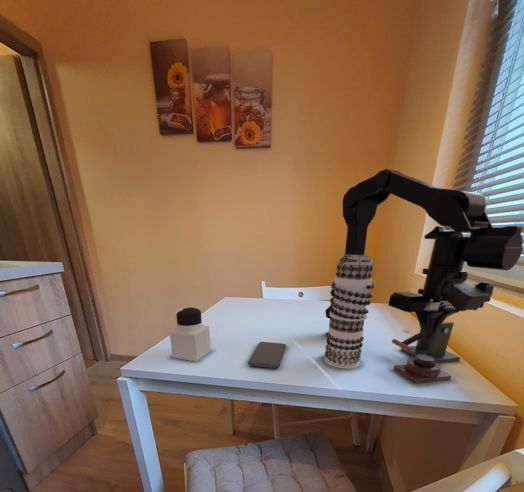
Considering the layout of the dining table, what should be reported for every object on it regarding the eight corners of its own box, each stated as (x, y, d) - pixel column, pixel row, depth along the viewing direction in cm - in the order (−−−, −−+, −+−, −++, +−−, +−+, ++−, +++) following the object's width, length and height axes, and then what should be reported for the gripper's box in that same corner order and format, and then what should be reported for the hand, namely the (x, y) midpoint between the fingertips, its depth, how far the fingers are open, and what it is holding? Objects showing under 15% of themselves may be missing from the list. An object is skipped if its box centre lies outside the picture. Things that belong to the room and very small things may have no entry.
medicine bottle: (211, 351, 74) (208, 307, 69) (196, 362, 67) (192, 314, 63) (188, 347, 76) (183, 304, 71) (172, 357, 70) (166, 311, 65)
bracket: (425, 365, 67) (435, 327, 64) (400, 351, 75) (408, 316, 72) (459, 361, 70) (471, 324, 66) (431, 348, 78) (440, 314, 74)
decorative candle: (345, 351, 74) (359, 253, 65) (369, 366, 66) (389, 256, 57) (315, 356, 71) (325, 254, 62) (336, 372, 64) (351, 257, 54)
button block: (414, 385, 59) (418, 372, 57) (393, 370, 65) (395, 358, 64) (449, 380, 61) (453, 368, 59) (425, 366, 67) (428, 355, 66)
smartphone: (286, 343, 77) (278, 365, 64) (286, 346, 78) (278, 369, 64) (259, 341, 79) (246, 362, 65) (259, 344, 79) (246, 366, 65)
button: (422, 369, 60) (424, 361, 59) (410, 362, 63) (412, 355, 62) (436, 367, 60) (438, 360, 60) (423, 360, 64) (425, 353, 63)
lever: (408, 355, 67) (407, 346, 66) (392, 345, 72) (390, 338, 71) (451, 332, 67) (450, 324, 66) (432, 325, 73) (431, 317, 72)
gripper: (440, 270, 45) (418, 358, 51) (526, 268, 49) (496, 349, 55) (394, 263, 55) (380, 337, 61) (469, 262, 59) (449, 331, 65)
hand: (426, 339), depth 60 cm, fingers closed
